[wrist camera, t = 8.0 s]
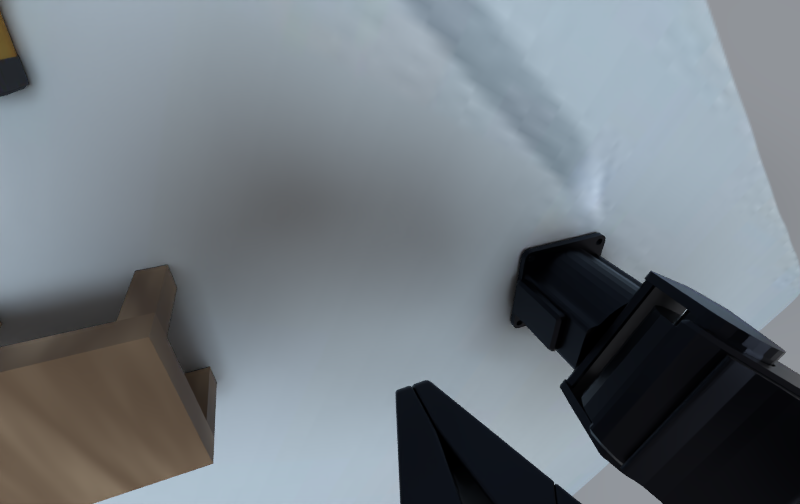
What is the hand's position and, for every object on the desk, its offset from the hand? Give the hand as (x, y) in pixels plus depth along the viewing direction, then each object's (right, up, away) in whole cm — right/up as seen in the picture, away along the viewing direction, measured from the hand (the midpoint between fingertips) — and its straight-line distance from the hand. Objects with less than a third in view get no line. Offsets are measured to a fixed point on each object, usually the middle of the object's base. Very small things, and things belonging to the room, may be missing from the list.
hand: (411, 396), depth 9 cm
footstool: (-10, -2, +8) cm, 13 cm away
